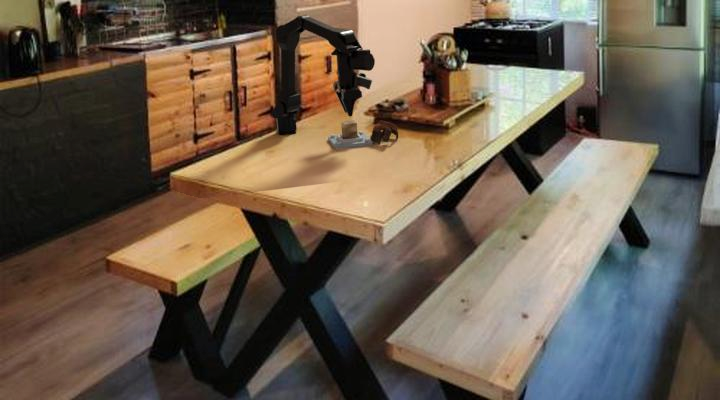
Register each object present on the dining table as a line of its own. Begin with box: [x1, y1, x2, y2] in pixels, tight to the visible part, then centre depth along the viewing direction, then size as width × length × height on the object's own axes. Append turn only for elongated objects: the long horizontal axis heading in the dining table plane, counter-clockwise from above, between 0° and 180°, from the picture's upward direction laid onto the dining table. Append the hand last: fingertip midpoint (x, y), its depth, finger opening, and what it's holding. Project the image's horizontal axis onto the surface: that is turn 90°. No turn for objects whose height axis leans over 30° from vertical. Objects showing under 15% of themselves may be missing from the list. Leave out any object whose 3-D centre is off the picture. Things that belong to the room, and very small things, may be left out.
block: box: [340, 119, 358, 139], centre depth 260 cm, size 4×4×6 cm
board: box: [327, 131, 374, 150], centre depth 261 cm, size 13×13×2 cm
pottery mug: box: [369, 120, 399, 145], centre depth 259 cm, size 12×9×8 cm
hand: (348, 114), depth 258 cm, fingers open, 6 cm apart
